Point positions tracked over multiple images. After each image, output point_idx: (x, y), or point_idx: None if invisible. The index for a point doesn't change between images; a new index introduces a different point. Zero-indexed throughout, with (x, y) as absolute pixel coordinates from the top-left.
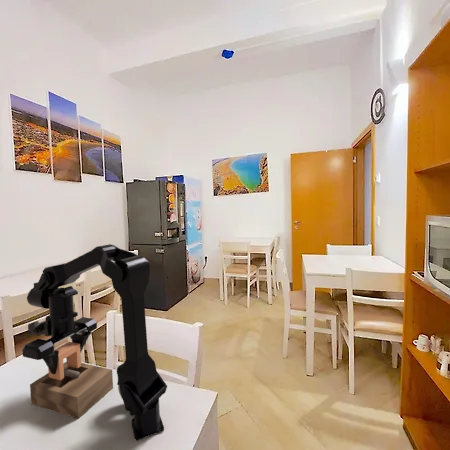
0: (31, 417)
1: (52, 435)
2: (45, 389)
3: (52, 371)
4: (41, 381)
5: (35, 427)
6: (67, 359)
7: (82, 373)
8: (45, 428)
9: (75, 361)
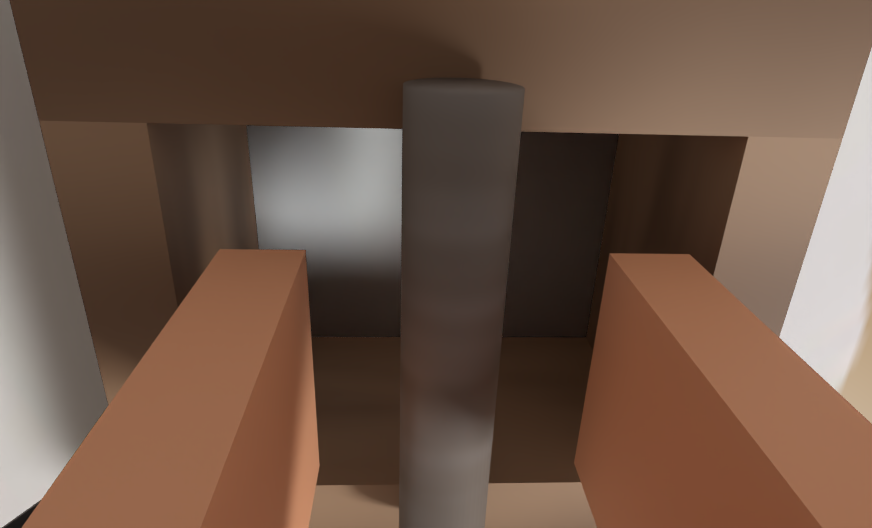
0: (51, 172)
1: (45, 483)
2: (95, 324)
3: None
4: (170, 104)
5: (9, 315)
6: (653, 349)
7: (535, 498)
8: (52, 393)
9: (615, 517)
